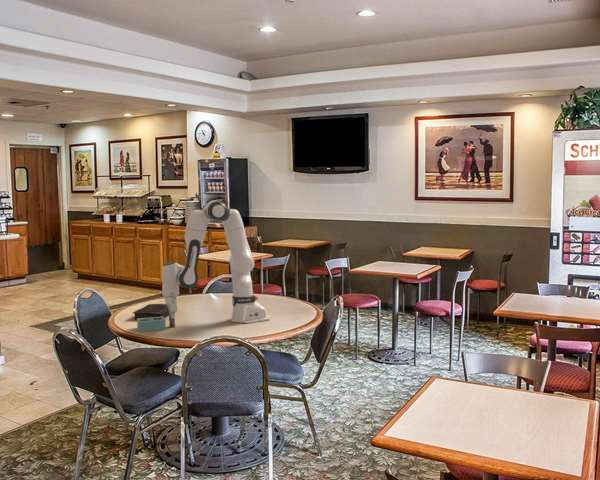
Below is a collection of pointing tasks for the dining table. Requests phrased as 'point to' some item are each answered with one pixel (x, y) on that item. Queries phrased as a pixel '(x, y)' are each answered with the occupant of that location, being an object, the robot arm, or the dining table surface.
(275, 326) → the dining table surface
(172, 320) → the peg
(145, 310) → the diary
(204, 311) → the dining table surface
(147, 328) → the hole block
